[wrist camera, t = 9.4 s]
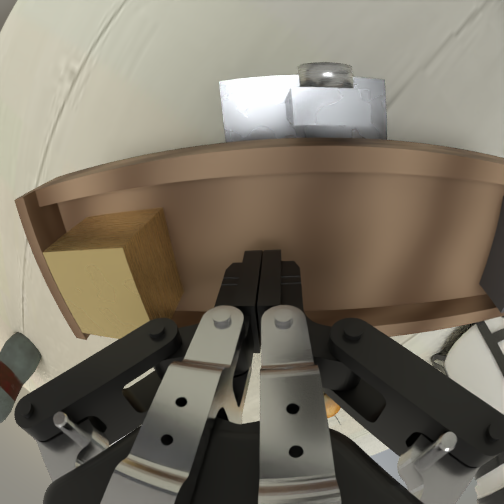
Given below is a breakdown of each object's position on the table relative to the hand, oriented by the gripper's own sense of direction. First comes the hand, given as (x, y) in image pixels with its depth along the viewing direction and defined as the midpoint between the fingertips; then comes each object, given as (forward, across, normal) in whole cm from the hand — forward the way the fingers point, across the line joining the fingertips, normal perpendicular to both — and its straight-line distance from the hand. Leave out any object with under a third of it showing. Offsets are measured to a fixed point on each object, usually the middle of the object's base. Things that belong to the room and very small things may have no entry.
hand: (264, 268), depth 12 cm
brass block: (+2, +7, 0) cm, 7 cm away
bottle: (+12, +55, +28) cm, 63 cm away
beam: (+3, -3, 0) cm, 4 cm away
